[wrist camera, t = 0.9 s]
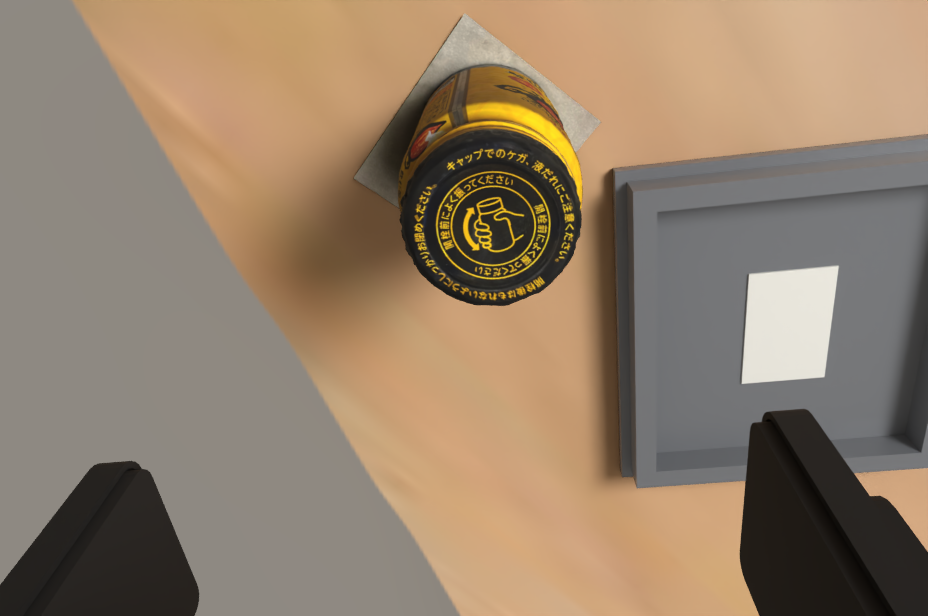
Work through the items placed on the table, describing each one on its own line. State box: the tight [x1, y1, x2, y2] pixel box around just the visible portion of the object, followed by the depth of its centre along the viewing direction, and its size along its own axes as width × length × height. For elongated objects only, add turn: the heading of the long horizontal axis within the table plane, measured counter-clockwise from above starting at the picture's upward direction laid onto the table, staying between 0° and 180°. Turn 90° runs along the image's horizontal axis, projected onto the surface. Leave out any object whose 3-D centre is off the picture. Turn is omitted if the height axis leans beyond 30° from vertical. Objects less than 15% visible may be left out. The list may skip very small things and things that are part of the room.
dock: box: [613, 134, 928, 488], centre depth 33 cm, size 17×16×2 cm
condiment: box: [354, 14, 601, 306], centre depth 25 cm, size 7×8×12 cm
